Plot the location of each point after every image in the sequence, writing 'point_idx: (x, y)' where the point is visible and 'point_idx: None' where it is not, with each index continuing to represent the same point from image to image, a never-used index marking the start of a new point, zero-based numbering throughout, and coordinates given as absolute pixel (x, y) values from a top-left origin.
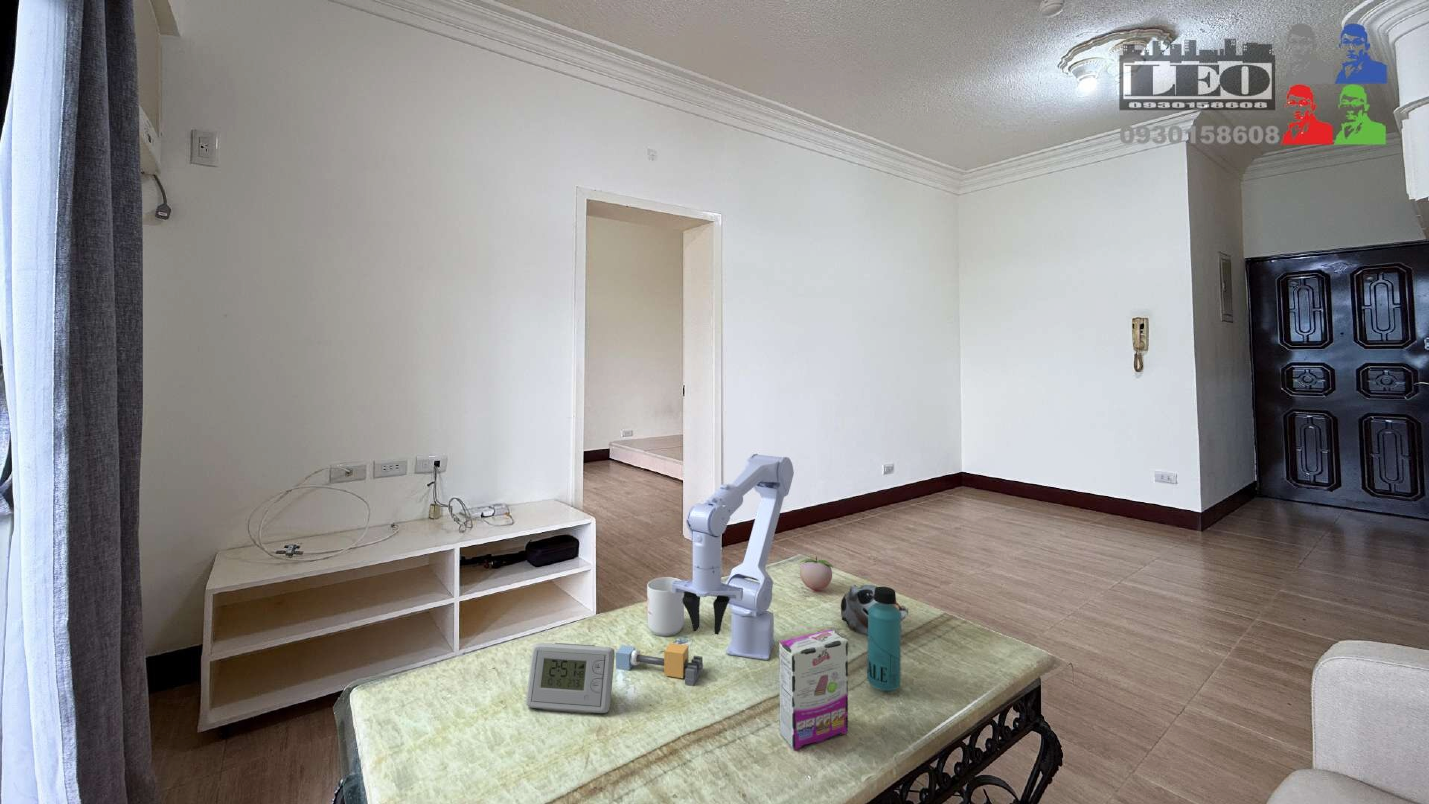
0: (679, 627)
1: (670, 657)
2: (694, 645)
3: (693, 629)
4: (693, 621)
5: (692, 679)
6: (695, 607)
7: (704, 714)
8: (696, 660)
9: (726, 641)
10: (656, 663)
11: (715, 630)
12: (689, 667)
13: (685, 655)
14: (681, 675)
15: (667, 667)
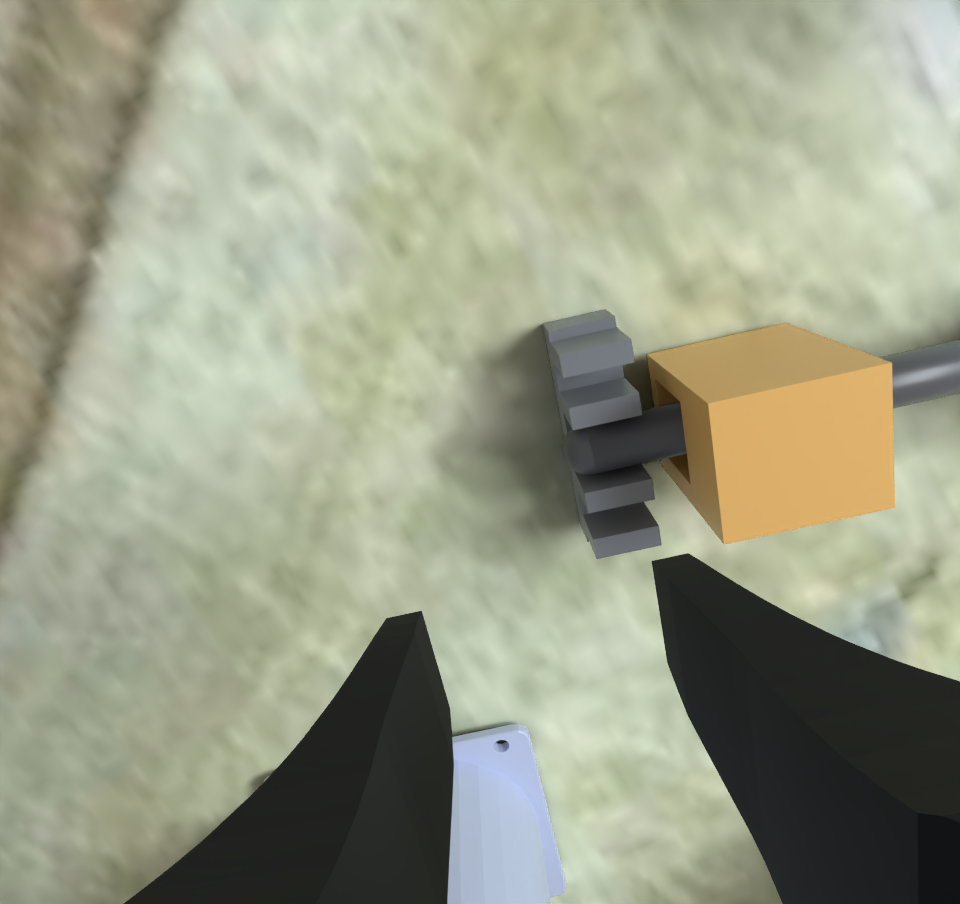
0: None
1: (805, 365)
2: None
3: (693, 558)
4: (727, 606)
5: (556, 332)
6: (809, 807)
7: (296, 52)
8: (613, 493)
9: (590, 833)
10: (896, 355)
11: (397, 632)
12: (621, 394)
13: (698, 453)
14: (662, 356)
15: (790, 341)
